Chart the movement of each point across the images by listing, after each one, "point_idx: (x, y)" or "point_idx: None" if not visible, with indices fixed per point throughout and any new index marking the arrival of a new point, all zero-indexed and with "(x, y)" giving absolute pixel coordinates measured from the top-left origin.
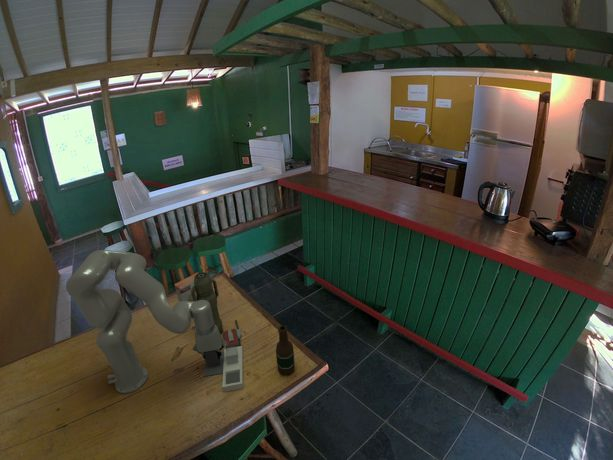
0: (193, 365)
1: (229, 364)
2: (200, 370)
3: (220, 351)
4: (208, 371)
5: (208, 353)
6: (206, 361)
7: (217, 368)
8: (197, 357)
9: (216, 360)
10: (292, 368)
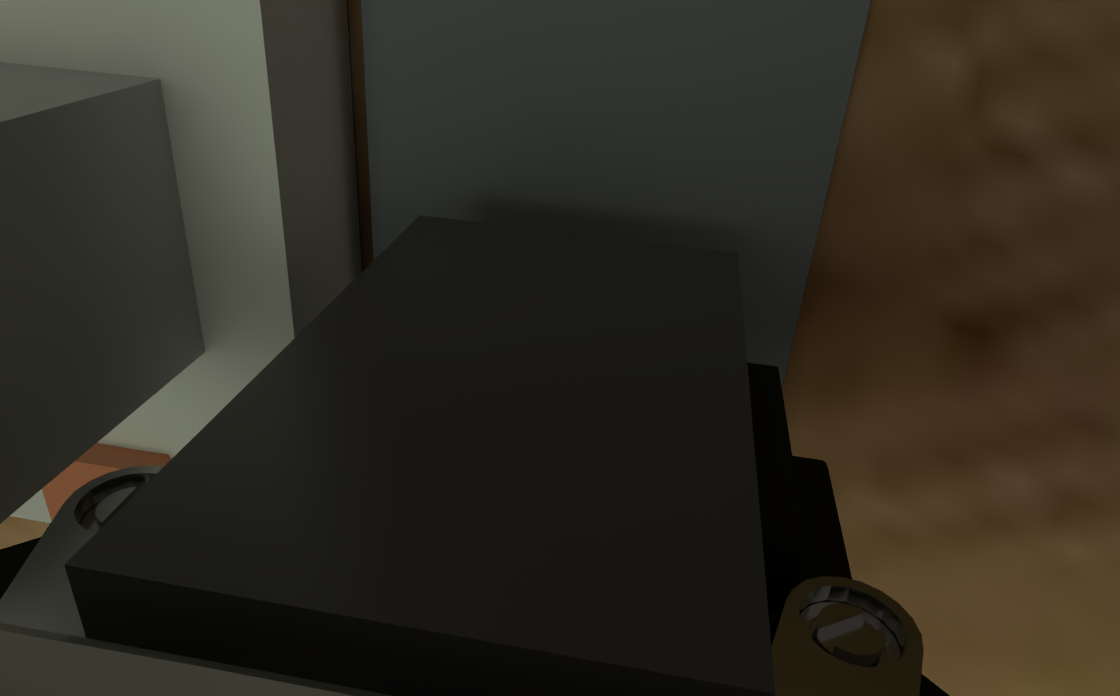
0: (1061, 435)
1: (103, 66)
2: (927, 246)
3: (103, 487)
4: (734, 125)
5: (541, 562)
6: (738, 330)
7: (506, 145)
8: (931, 586)
9: (421, 273)
10: None
